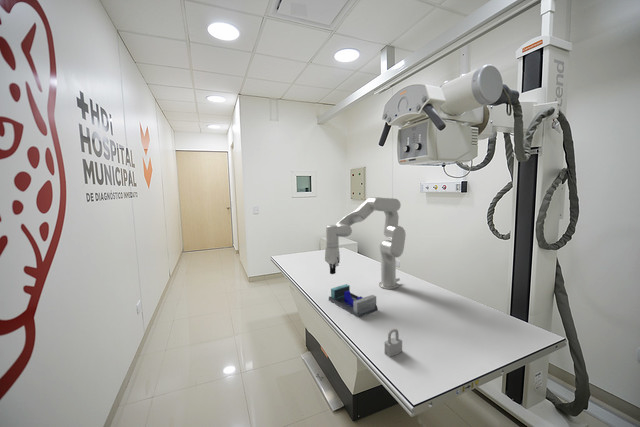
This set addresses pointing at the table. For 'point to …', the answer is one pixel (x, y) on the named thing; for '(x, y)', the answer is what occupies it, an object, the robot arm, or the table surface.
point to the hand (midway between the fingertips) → (332, 273)
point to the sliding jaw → (339, 291)
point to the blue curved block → (349, 298)
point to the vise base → (357, 305)
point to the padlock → (393, 344)
